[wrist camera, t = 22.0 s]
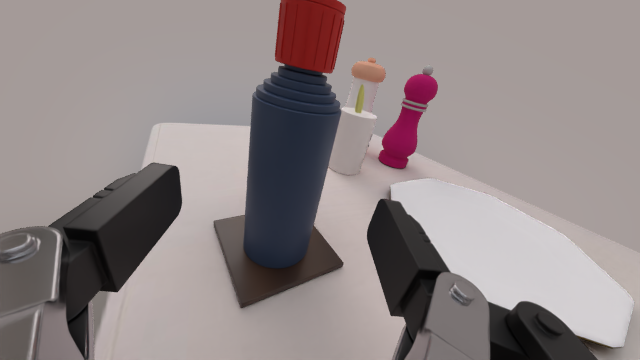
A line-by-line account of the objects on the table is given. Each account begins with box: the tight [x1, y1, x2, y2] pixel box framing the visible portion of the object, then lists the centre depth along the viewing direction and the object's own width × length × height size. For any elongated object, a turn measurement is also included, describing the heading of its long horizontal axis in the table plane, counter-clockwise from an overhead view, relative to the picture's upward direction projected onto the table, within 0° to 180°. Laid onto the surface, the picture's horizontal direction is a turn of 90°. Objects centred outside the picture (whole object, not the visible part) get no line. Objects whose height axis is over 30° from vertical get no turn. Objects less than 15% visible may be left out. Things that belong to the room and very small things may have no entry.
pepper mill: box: [379, 66, 438, 169], centre depth 47 cm, size 7×7×20 cm
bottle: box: [243, 64, 342, 269], centre depth 19 cm, size 6×6×20 cm
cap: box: [275, 0, 346, 73], centre depth 15 cm, size 4×4×4 cm
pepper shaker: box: [345, 58, 386, 113], centre depth 50 cm, size 7×7×19 cm
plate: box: [390, 178, 635, 349], centre depth 33 cm, size 28×28×2 cm
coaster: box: [214, 215, 343, 308], centre depth 24 cm, size 10×10×1 cm
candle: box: [328, 84, 377, 175], centre depth 41 cm, size 6×6×15 cm
